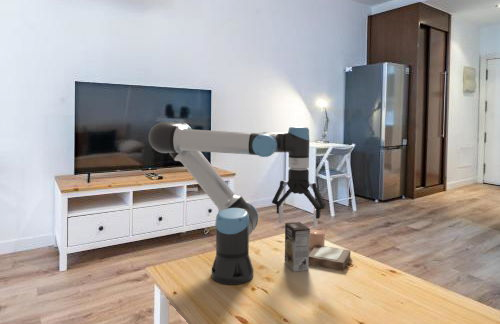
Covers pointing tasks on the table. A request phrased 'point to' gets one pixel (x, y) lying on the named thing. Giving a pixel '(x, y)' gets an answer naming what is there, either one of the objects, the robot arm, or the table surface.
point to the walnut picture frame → (329, 257)
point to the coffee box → (297, 246)
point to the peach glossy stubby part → (316, 239)
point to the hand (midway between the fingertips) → (297, 224)
